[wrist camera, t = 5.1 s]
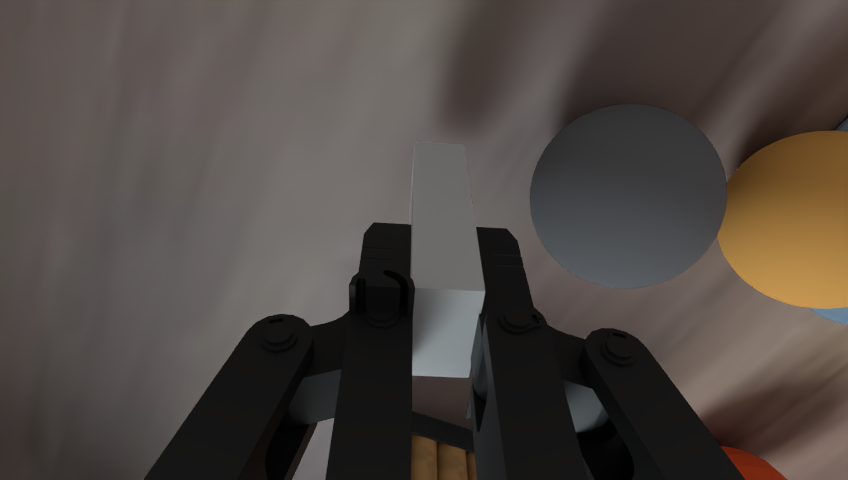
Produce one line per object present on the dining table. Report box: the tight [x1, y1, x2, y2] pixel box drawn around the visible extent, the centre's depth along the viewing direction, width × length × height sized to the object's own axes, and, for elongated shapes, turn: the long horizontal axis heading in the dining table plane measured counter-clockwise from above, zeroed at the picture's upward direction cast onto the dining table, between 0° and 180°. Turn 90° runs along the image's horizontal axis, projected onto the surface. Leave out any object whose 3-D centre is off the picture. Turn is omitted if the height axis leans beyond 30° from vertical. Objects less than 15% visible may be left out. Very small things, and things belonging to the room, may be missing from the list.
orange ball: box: [717, 131, 848, 309], centre depth 16 cm, size 6×6×6 cm
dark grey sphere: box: [530, 104, 727, 289], centre depth 16 cm, size 6×6×6 cm
